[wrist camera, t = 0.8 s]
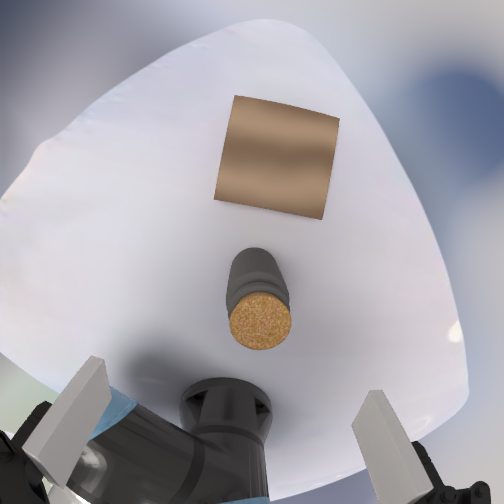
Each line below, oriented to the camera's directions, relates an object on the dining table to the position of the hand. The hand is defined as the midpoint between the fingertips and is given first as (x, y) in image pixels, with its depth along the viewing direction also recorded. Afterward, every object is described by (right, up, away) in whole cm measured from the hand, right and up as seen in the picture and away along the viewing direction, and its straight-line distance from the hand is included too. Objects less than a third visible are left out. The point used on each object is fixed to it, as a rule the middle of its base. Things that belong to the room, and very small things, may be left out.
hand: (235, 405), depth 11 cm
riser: (+4, +18, +21) cm, 28 cm away
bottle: (+1, +5, +24) cm, 24 cm away
